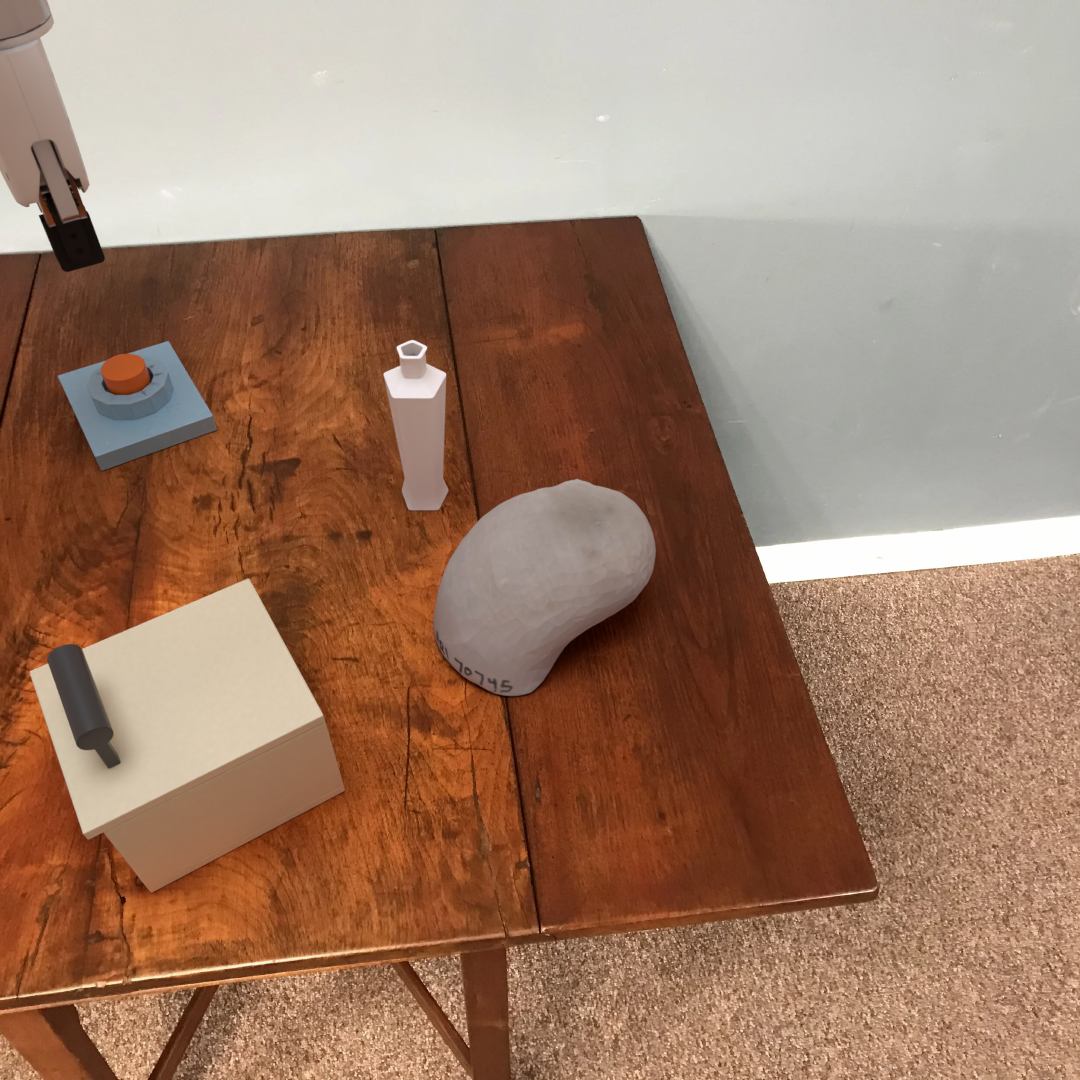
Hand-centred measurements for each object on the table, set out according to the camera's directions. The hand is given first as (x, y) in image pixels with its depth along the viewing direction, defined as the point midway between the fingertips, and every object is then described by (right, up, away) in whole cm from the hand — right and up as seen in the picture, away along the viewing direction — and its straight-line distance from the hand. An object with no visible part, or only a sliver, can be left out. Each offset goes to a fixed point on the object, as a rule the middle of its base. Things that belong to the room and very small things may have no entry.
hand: (82, 261), depth 72 cm
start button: (0, -8, +9) cm, 12 cm away
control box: (0, -10, +11) cm, 15 cm away
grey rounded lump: (+35, -27, -1) cm, 44 cm away
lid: (+14, -31, -17) cm, 38 cm away
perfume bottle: (+26, -18, +6) cm, 32 cm away
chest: (+14, -36, -11) cm, 40 cm away
